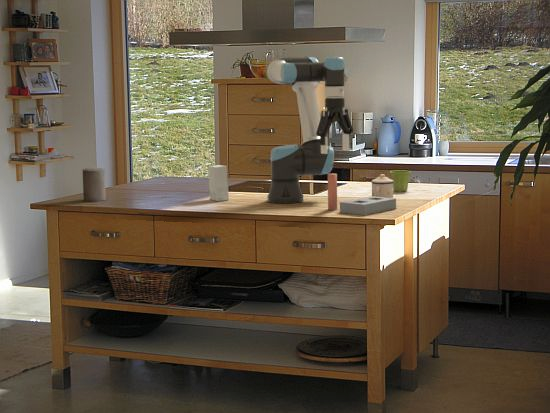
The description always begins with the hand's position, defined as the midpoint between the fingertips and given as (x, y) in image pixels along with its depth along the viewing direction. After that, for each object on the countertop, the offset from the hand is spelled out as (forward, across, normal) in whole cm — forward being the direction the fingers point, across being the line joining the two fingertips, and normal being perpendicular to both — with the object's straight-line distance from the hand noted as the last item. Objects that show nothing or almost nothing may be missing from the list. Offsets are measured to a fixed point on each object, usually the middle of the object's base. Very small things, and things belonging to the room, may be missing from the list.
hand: (335, 152), depth 371 cm
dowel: (+23, -1, 0) cm, 23 cm away
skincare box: (+23, -8, +58) cm, 63 cm away
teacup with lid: (+23, +24, -5) cm, 33 cm away
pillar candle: (+24, -38, +104) cm, 113 cm away
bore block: (+22, +4, -13) cm, 26 cm away
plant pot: (+23, +59, +10) cm, 64 cm away
